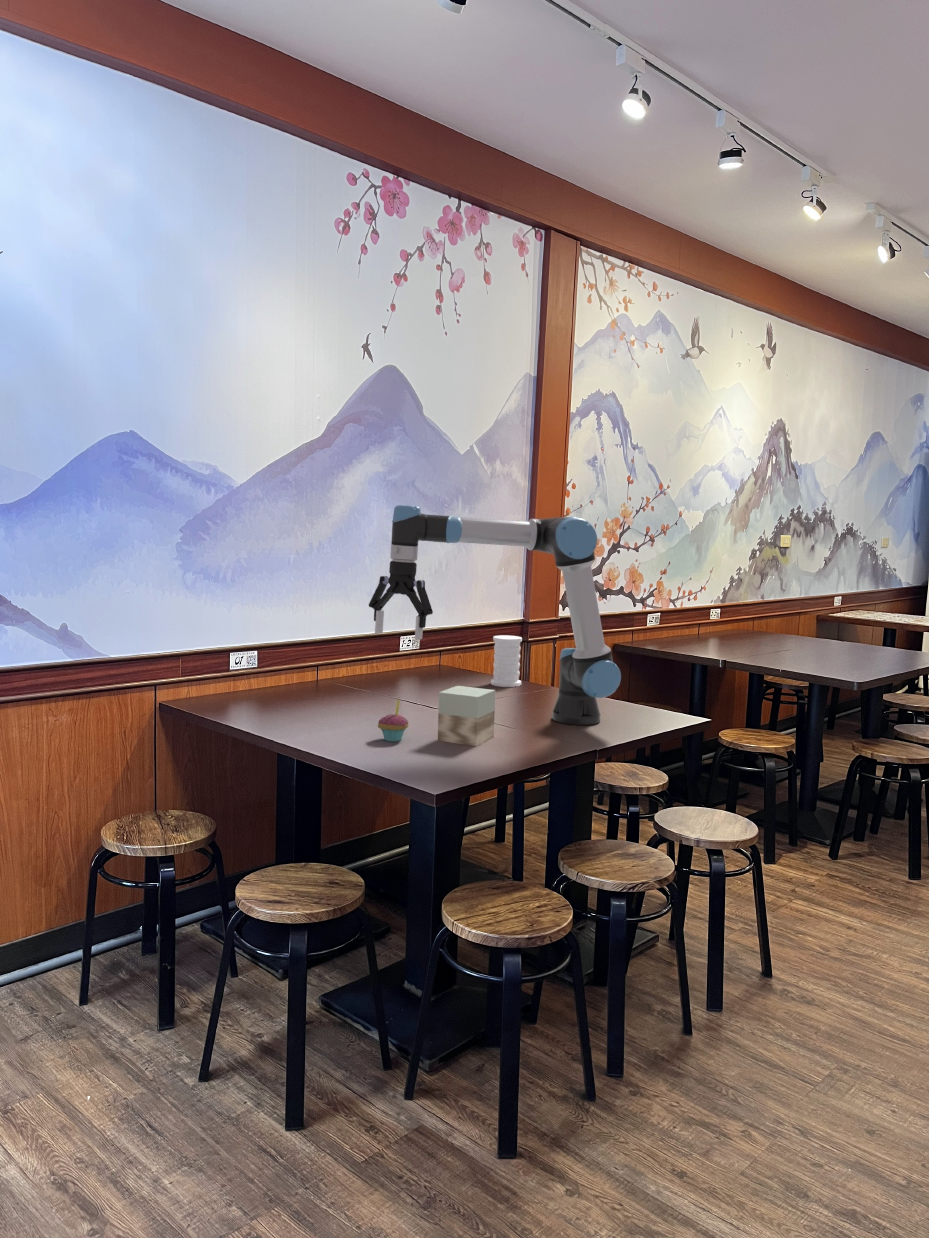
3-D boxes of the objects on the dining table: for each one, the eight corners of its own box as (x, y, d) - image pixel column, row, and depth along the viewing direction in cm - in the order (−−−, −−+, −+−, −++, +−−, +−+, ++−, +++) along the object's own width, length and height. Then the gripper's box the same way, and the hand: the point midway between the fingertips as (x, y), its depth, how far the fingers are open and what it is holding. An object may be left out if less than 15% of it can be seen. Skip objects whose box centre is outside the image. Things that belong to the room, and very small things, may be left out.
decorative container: (487, 681, 354) (489, 635, 352) (517, 681, 356) (518, 635, 354) (494, 687, 343) (496, 639, 341) (524, 687, 345) (526, 639, 343)
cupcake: (392, 734, 265) (393, 693, 263) (414, 739, 259) (415, 697, 258) (371, 739, 258) (372, 697, 257) (393, 745, 253) (394, 702, 252)
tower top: (494, 710, 264) (495, 690, 264) (477, 718, 253) (478, 696, 253) (456, 705, 269) (457, 685, 269) (438, 713, 258) (439, 692, 258)
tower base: (493, 737, 265) (494, 710, 264) (476, 746, 254) (477, 718, 254) (456, 732, 270) (457, 705, 269) (437, 740, 260) (438, 713, 259)
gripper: (359, 557, 260) (354, 631, 262) (433, 564, 248) (428, 642, 250) (375, 557, 266) (370, 630, 269) (448, 564, 254) (442, 640, 256)
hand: (398, 636), depth 259 cm, fingers open, 13 cm apart
